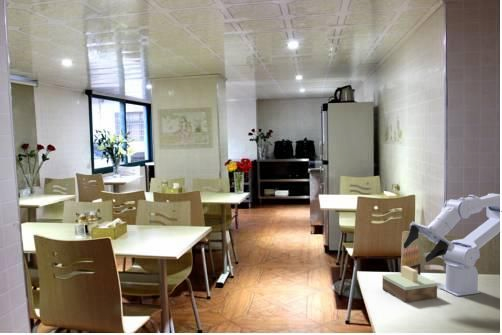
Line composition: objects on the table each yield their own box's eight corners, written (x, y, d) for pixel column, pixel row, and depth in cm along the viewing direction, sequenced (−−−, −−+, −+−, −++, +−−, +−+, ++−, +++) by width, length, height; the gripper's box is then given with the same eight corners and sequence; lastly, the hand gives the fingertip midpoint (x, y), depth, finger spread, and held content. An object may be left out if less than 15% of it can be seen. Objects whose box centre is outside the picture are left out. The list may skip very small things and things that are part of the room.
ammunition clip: (404, 283, 146) (405, 249, 145) (399, 281, 147) (400, 248, 147) (420, 276, 153) (421, 245, 152) (416, 275, 154) (416, 244, 153)
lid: (412, 276, 143) (412, 261, 143) (437, 288, 131) (437, 272, 131) (382, 280, 139) (382, 265, 139) (405, 292, 128) (405, 276, 128)
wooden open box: (412, 285, 143) (412, 274, 143) (436, 298, 132) (437, 285, 131) (382, 289, 140) (382, 278, 139) (405, 302, 128) (405, 290, 128)
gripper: (421, 207, 134) (395, 233, 130) (464, 229, 125) (437, 258, 120) (420, 220, 139) (395, 246, 134) (461, 243, 129) (436, 271, 125)
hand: (415, 252), depth 128 cm, fingers open, 7 cm apart
